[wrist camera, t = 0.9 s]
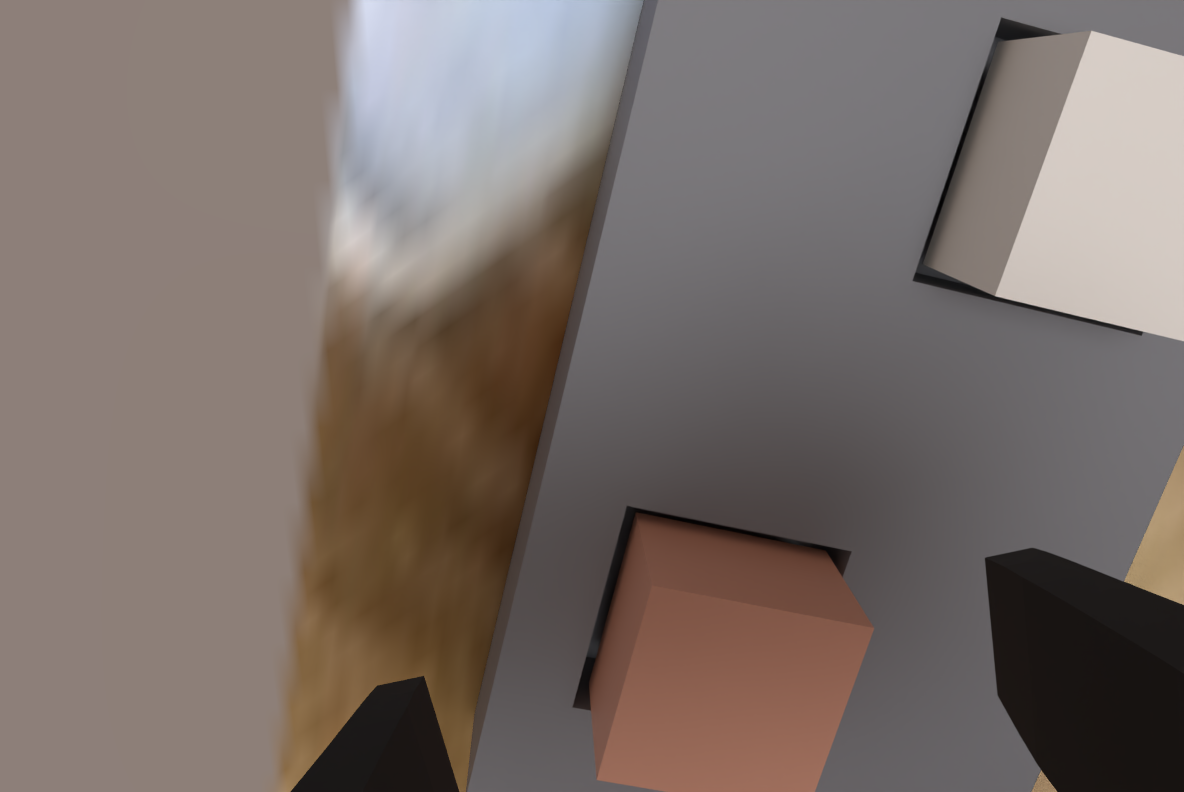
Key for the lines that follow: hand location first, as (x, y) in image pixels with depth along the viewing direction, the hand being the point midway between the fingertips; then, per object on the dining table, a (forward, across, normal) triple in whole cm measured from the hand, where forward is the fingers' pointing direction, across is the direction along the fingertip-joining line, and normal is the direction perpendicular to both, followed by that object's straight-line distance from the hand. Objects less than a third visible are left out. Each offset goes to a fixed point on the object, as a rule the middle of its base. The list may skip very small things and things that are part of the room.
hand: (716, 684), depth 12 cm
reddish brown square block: (+7, 0, +3) cm, 8 cm away
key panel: (+10, -4, 0) cm, 11 cm away
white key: (+7, -8, -4) cm, 12 cm away
